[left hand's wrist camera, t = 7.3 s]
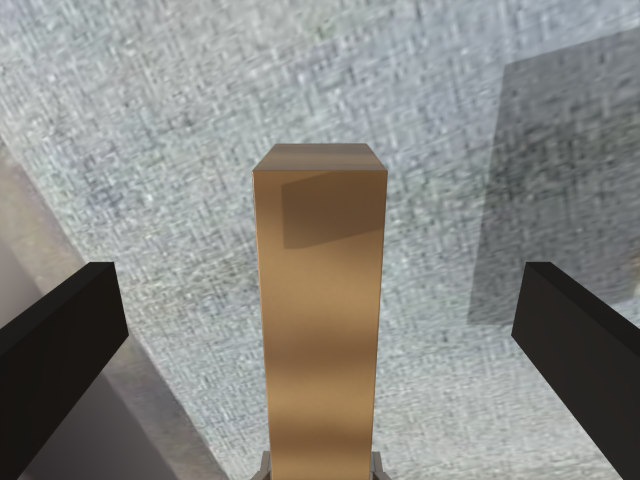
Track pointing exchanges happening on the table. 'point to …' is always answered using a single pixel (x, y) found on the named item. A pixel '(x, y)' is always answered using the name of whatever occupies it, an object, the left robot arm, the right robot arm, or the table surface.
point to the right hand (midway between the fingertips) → (322, 457)
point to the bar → (320, 304)
